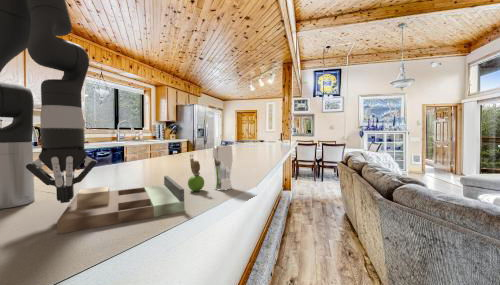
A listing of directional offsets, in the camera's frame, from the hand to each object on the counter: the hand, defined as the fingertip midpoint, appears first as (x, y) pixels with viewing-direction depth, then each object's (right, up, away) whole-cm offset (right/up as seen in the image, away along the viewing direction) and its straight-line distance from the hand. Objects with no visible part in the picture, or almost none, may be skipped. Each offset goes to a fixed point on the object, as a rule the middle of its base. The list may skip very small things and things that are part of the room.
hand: (65, 201), depth 51 cm
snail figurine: (+24, -3, +24) cm, 34 cm away
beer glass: (+33, -3, +27) cm, 43 cm away
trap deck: (+11, -3, +7) cm, 13 cm away
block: (+5, -1, +3) cm, 5 cm away
